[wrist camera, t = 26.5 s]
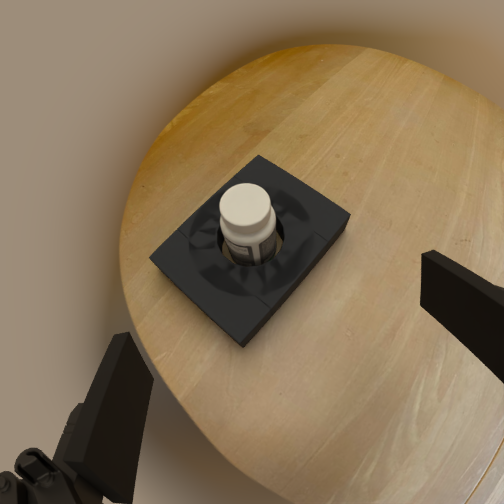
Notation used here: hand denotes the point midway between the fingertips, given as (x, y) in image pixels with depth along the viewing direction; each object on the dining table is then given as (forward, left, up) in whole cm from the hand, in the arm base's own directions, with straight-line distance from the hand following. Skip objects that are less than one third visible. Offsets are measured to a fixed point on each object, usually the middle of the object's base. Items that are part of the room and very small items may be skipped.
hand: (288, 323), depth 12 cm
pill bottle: (+6, +9, -16) cm, 19 cm away
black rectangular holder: (+6, +9, -16) cm, 19 cm away
